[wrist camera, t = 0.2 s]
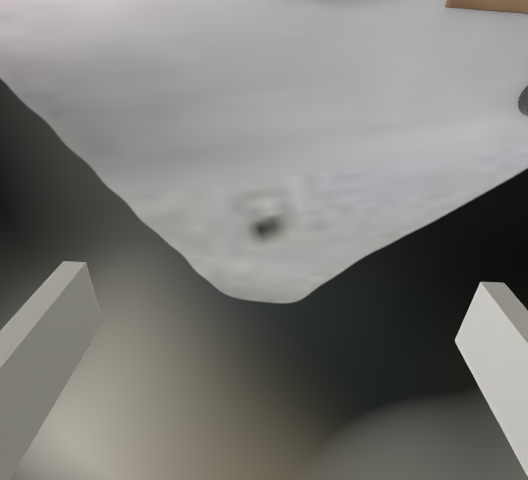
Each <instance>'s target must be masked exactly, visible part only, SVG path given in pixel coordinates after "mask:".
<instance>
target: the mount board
mask: <svg viewBox="0 0 528 480" xmlns="http://www.w3.org/2000/svg"><path fill="white" fill-rule="evenodd" d="M445 7H451V8H463V9H476V10H489V11H501V12H514V13H526V14H528V0H447V2H446V6H445Z"/></svg>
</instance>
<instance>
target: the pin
mask: <svg viewBox="0 0 528 480" xmlns="http://www.w3.org/2000/svg"><path fill="white" fill-rule="evenodd" d="M518 107H519V110H520V112H521V113H522V114H524V115H526V116H528V86H527V87H526V88H525V89H524V90H523V92H522V93H521V95H520V97H519V101H518Z"/></svg>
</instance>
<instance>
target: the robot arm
mask: <svg viewBox="0 0 528 480" xmlns="http://www.w3.org/2000/svg"><path fill="white" fill-rule="evenodd" d="M102 323H103V320H102V317H101V314H100V310H99V306H98V303H97V300H96V296H95V293H94V289H93V286H92V282H91V278H90V275H89V272H88V268H87V264H86V262H68V261H67V262H66V261H63V262H62V264H61V265H60V266H59V267H58V268H57V269H56V270H55V271H54V272H53V273H52V275H51V276H50V277H49V278H48V279H47V280H46V281H45V282H44V283H43V284H42V285H41V287H40V288H39V289H38V290H37V291H36V292H35V293H34V294H33V295H32V296H31V298H30V299H29V300H28V301H27V302H26V303H25V304H24V305H23V306H22V307H21V309H20V310H19V311H18V312H17V313H16V314H15V315H14V316H13V317H12V319H11V320H10V321H9V322H8V323H7V324H6V325H5V326H4V327H3V328H2V330H1V331H0V480H9V479H10V478H11V476H12V474H13V473H14V471H15V469H16V468H17V466H18V464H19V462H20V461H21V459H22V458H23V456H24V454H25V452H26V451H27V449H28V447H29V446H30V444H31V442H32V441H33V439H34V437H35V436H36V434H37V432H38V431H39V429H40V427H41V426H42V424H43V422H44V420H45V419H46V417H47V416H48V414H49V412H50V411H51V409H52V407H53V405H54V404H55V402H56V400H57V399H58V397H59V395H60V393H61V392H62V390H63V389H64V387H65V385H66V384H67V382H68V380H69V378H70V376H71V375H72V373H73V372H74V370H75V368H76V367H77V365H78V363H79V362H80V360H81V358H82V357H83V355H84V353H85V352H86V350H87V348H88V346H89V345H90V343H91V341H92V340H93V338H94V336H95V335H96V333H97V331H98V330H99V328H100V326H101V324H102ZM455 342H456V344H457V346H458V348H459V350H460V352H461V353H462V355H463V357H464V359H465V361H466V363H467V365H468V367H469V368H470V370H471V372H472V374H473V376H474V378H475V380H476V381H477V383H478V385H479V387H480V389H481V391H482V393H483V394H484V396H485V398H486V400H487V402H488V404H489V406H490V407H491V409H492V411H493V413H494V415H495V417H496V419H497V421H498V422H499V424H500V426H501V428H502V430H503V432H504V434H505V435H506V437H507V439H508V441H509V443H510V445H511V447H512V448H513V450H514V452H515V454H516V456H517V458H518V460H519V461H520V463H521V465H522V467H523V469H524V471H525V473H526V474H527V476H528V311H527V309H526V308H525V307H524V306H523V305H522V303H521V302H520V301H519V300H518V299H517V298H516V297H515V295H514V294H513V293H512V292H511V290H510V289H509V288H508V287H507V286H506V285H505V283H494V282H480V284H479V287H478V289H477V291H476V293H475V296H474V298H473V300H472V303H471V305H470V307H469V309H468V311H467V314H466V316H465V318H464V321H463V323H462V325H461V327H460V330H459V332H458V334H457V336H456V339H455Z"/></svg>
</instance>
